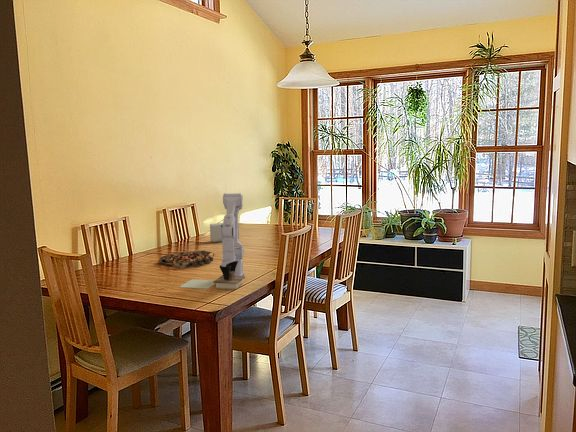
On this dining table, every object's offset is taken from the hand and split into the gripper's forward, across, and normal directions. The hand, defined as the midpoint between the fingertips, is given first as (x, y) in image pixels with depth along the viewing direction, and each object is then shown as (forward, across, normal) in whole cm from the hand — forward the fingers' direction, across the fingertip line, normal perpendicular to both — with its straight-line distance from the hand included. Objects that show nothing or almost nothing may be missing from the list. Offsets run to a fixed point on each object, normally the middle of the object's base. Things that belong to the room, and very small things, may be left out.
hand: (229, 277), depth 238 cm
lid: (+1, 0, 0) cm, 1 cm away
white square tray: (+4, 0, 0) cm, 4 cm away
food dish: (+5, -46, -44) cm, 64 cm away
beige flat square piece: (+4, 0, -16) cm, 17 cm away
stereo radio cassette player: (+4, -115, -47) cm, 124 cm away
